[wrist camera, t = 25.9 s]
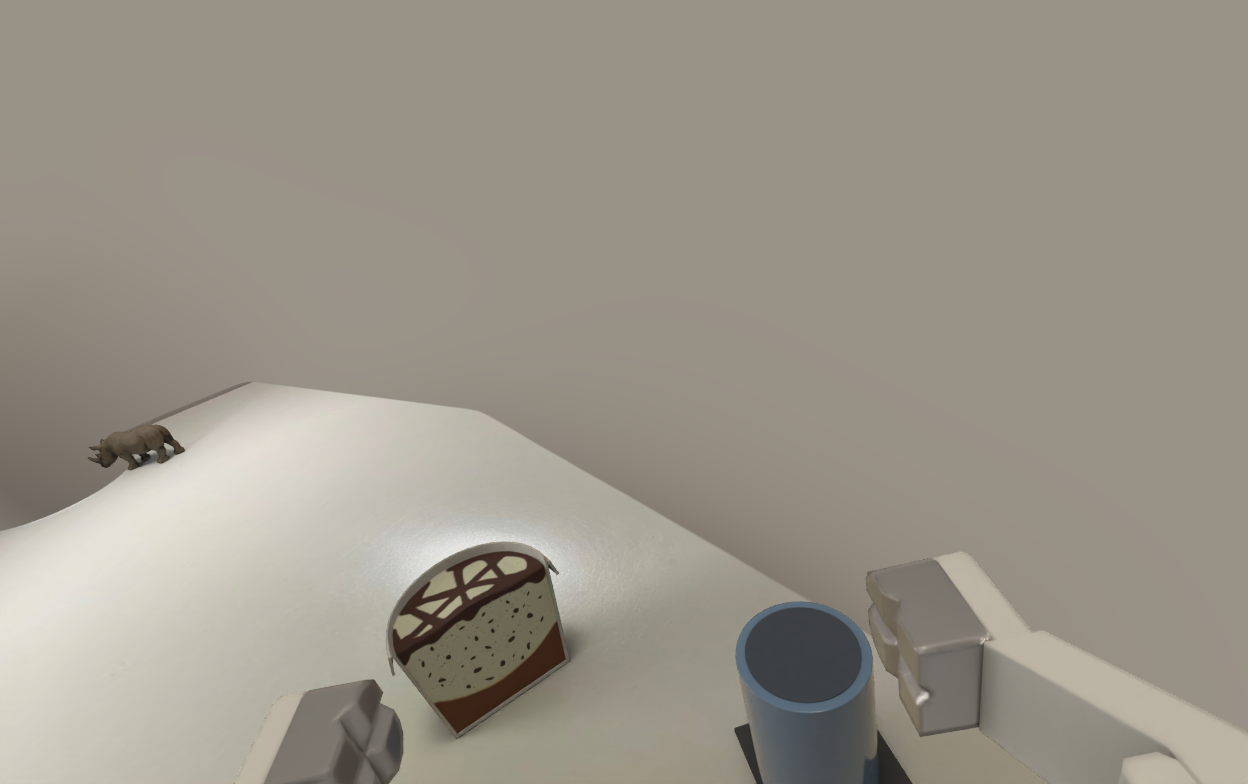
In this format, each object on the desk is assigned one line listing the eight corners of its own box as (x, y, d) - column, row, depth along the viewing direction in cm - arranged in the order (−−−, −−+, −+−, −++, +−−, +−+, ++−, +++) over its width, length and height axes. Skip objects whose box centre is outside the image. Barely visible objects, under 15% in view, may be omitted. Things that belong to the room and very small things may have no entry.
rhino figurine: (109, 465, 103) (86, 434, 100) (189, 446, 102) (169, 415, 100) (91, 480, 99) (68, 448, 97) (175, 460, 99) (153, 428, 96)
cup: (867, 853, 33) (857, 731, 28) (742, 802, 36) (715, 687, 32) (889, 735, 38) (883, 616, 33) (777, 700, 41) (758, 589, 37)
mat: (928, 811, 34) (928, 808, 34) (791, 865, 33) (790, 862, 33) (849, 689, 41) (849, 685, 41) (734, 731, 40) (734, 728, 40)
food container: (550, 605, 54) (516, 513, 49) (586, 649, 49) (551, 551, 44) (412, 693, 49) (360, 600, 44) (436, 752, 44) (380, 654, 39)
